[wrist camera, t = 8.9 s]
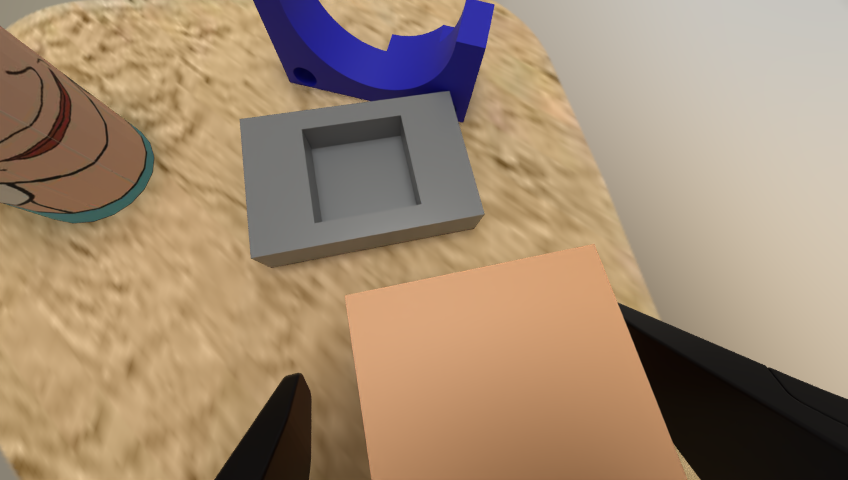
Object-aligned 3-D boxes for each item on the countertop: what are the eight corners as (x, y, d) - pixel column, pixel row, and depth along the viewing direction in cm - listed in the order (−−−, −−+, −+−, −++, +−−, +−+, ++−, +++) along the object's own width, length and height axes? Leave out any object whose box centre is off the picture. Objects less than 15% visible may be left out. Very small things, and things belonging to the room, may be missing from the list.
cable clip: (473, 72, 23) (498, -16, 17) (462, 123, 21) (485, 48, 16) (311, 34, 22) (280, -68, 17) (290, 83, 21) (249, -7, 15)
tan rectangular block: (490, 397, 16) (711, 543, 4) (401, 421, 15) (397, 658, 4) (467, 307, 17) (594, 243, 6) (384, 326, 17) (344, 295, 5)
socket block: (473, 228, 19) (484, 214, 17) (271, 267, 18) (250, 258, 15) (443, 117, 21) (449, 90, 19) (259, 144, 20) (239, 119, 17)
